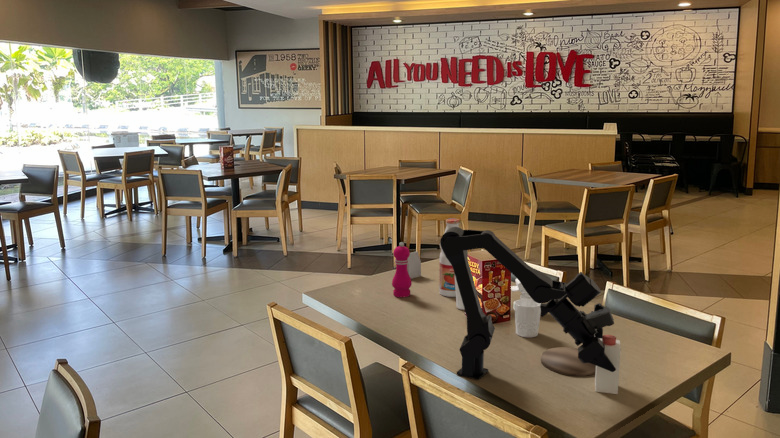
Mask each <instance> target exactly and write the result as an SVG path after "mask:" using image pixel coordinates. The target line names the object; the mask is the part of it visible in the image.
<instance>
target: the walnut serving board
mask: <svg viewBox="0 0 780 438" xmlns="http://www.w3.org/2000/svg"><path fill="white" fill-rule="evenodd" d="M540 363H541V364H542V366H544V367H545V368H546V369H548V370H549V371H551V372H555V373H558V374H560V375H565V376H566V375H567V376H574V377H584V376H591V375H595V372H596V365H593V364H591V363H584V364H583V363H582V362H581V361H580V360H579V358H578V348H576V347H570V346H569V347H567V346H564V347H563V346H561V347H559V346H558V347H552V348H547V349H546V350H544V351H543V352H542V353H541V354H540Z"/></svg>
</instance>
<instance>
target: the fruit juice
mask: <svg viewBox="0 0 780 438" xmlns="http://www.w3.org/2000/svg"><path fill="white" fill-rule="evenodd" d="M445 224H446V227H445V230H444V232H443V234H444V233H445V232H446V231H447V230H448V229H449V228H452V227H459V228H460V219H459V218H454V217H453V218H447V219H445ZM439 247H440V253H439V259H438V261H439V264H438V265H439V269H438V271H439V273H438V275H439V276H438V278H439V279H438V280H439V281H438V283H439V284H438V287H439V288H438V292H439V294H440V295H441V296H442V297H447V298H449V297H450V298H456V290H455V274H454V270H453V267H452V265H451V263H450V262H449V261H448V259H447V258H446V256H445V254H444V252H443V250H442V248H441V245H440V244H439Z"/></svg>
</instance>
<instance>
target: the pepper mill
mask: <svg viewBox="0 0 780 438" xmlns="http://www.w3.org/2000/svg"><path fill="white" fill-rule="evenodd" d="M410 253H411V252H410V249H409V248H408V247H407V246H405V243H404V242H403V241H401V242H399V245H398V246H396V247H395V248H394V250H393V257H394V263H395V266H396V267H395V268H396V269H395V273H394V275H393V277H392V281H391V286H392V287H393V290H392V292H393V297H397V298H406V297H409V296H411V289H410V288H411V287H412V279H411V278H410V276H409V274H408V270H407V264H408V263H409V262H408V257H409V256H410Z"/></svg>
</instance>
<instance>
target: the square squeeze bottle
mask: <svg viewBox="0 0 780 438" xmlns="http://www.w3.org/2000/svg"><path fill="white" fill-rule="evenodd" d="M599 339H600V340H601V341H602V343H603V344H605V354H606V355H607V357H608V358H609V359H610V361H611V362H612V364H613V365H614V367H615V368H616V370H615V371H614V372H611V371H608V370H606V369H604V368H601V367H599V366H596V372H595V374H594V389H595V390H594V391H595V393H597V392H599V393H607V394H612V395H613V394H615V395H618V394H619V383H620V382H619V381H620V380H619V379H620V370H621V369H620V365H621V350H622V347H621V341H620V339H617V336H615V335H612V334H603V336H602V338H599Z"/></svg>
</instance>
